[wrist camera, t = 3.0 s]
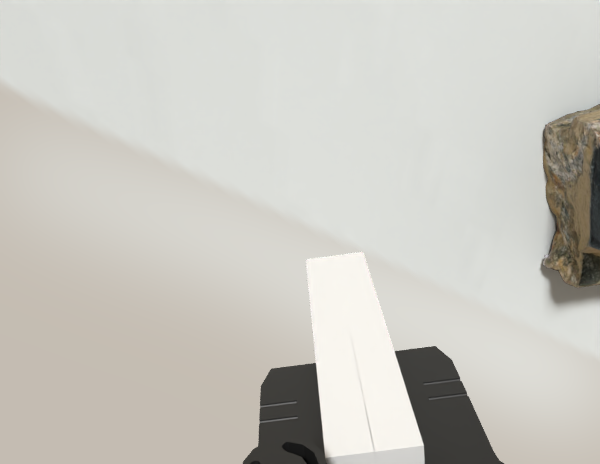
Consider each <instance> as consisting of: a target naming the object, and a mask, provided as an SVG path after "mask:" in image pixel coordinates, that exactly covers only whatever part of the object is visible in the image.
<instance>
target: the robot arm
mask: <svg viewBox="0 0 600 464" xmlns="http://www.w3.org/2000/svg"><path fill="white" fill-rule="evenodd" d="M306 266H307V276H308V287H309V296H310V307H311V317H312V327H313V338H314V347H315V357H316V363H313V364H305V365H297V366H290V367H281V368H274V369H271V370H270V372H269V373H268V375H267V377H266V379H265V380H264V382H263V384H262V385H261V397H260V400H261V401H260V424H259V444H258V447H257V448H255V449H253V450H252V452H251V453H250V454H249V455H248V457H247V458H246V459H245V460H244V461H243V464H504V463H502V462H501V461H499V459H498V458H497V456H496V455H495V453H494V451H493V449H492V447H491V445H490V443H489V440H488V438H487V436H486V434H485V432H484V429H483V427H482V425H481V423H480V421H479V419H478V416H477V414H476V412H475V410H474V408H473V405H472V403H471V401H470V399H469V397H468V396H467V392H466V390H465V388H464V386H463V383H462V382H461V381H460V377H459V375H458V372H457V370H456V368H455V366H454V364H453V362H452V360H451V359H450V358H449V357H448V356H446V355H445V354H444V353H443V352H442V351H440V350H439V349H438V348H437V347H436V346H433V347H425V348H417V349H409V350H402V351H394V349H393V345H392V342H391V339H390V336H389V332H388V329H387V326H386V323H385V320H384V317H383V313H382V310H381V307H380V304H379V300H378V297H377V294H376V291H375V287H374V284H373V281H372V278H371V275H370V272H369V268H368V265H367V262H366V259H365V255H364V252H357V253H349V254H342V255H334V256H327V257H319V258H312V259H306Z"/></svg>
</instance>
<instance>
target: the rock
mask: <svg viewBox="0 0 600 464" xmlns="http://www.w3.org/2000/svg"><path fill="white" fill-rule="evenodd" d="M544 137H545V143H544V153H543V168H544V170H545V172H546V175H547V177H548V181H547V184H546V198H547V202H548V204H549V206H550V209H551V211H552V212H553V213H554V214H555V215H556V219H557V223H556V233H555V234H554V239H553V241H552V248H551V251H550V254H549V255H544V256H545V258H544V261H543V266H546V268H551V269H554V270H558V271H559V273H560V275H561V277H562V279H563V281H564V282H565V283H567V284H569V285H572V286H574V287H576V288H580V287H586V286H593V285H600V104H599V105H597V106H595V107H593V108H591V109H589V110H584V111H577V112H575V113H572V114H567V115H565V116H563V117H561V118H559V119H557V120H555V121H553V122H550V123H548V124H547V125H545V131H544Z"/></svg>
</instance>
